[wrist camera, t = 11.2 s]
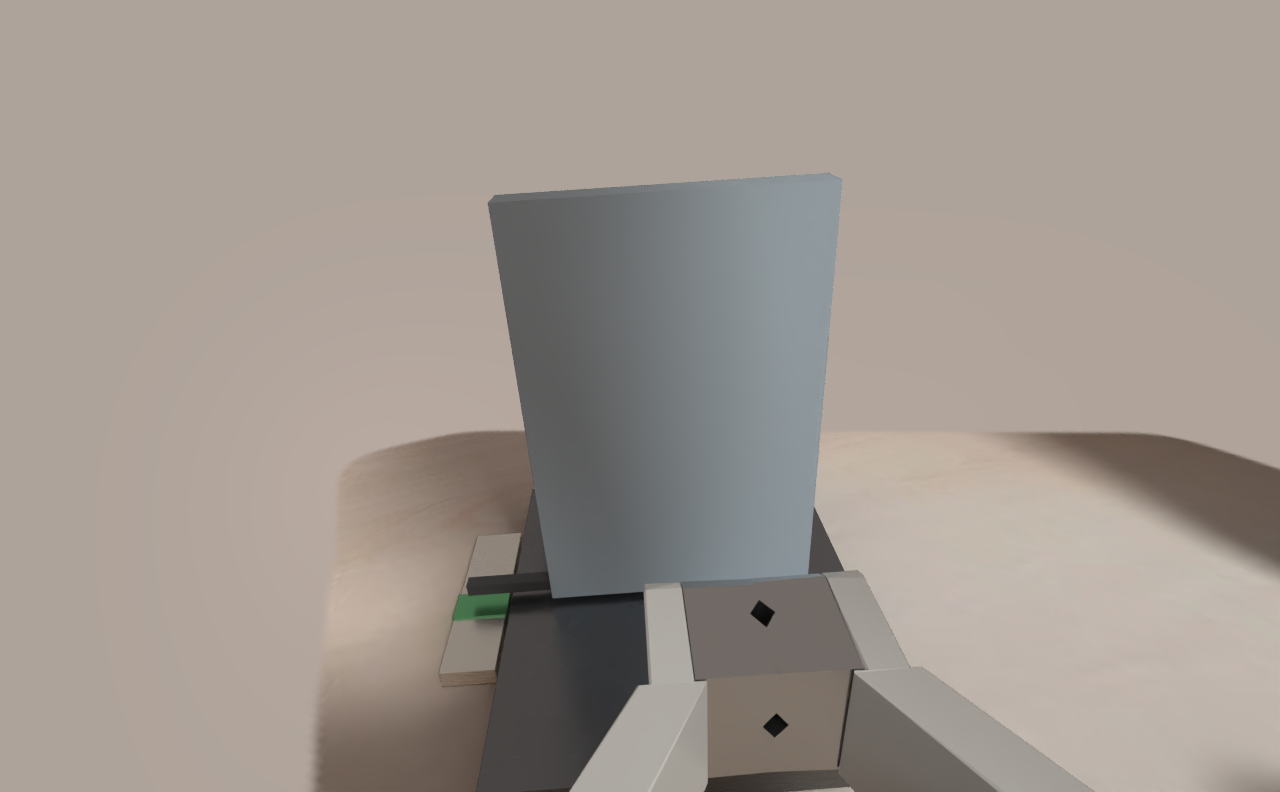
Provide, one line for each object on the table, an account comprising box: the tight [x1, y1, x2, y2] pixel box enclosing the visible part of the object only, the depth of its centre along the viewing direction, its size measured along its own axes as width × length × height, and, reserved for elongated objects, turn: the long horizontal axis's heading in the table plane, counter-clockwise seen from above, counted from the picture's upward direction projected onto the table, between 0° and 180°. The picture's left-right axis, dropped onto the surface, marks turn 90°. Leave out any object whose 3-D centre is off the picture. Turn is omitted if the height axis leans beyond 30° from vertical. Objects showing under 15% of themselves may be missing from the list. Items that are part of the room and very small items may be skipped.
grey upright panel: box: [466, 173, 842, 598], centre depth 26 cm, size 16×2×18 cm, turn 93°
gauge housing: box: [439, 489, 850, 792], centre depth 29 cm, size 19×18×6 cm
